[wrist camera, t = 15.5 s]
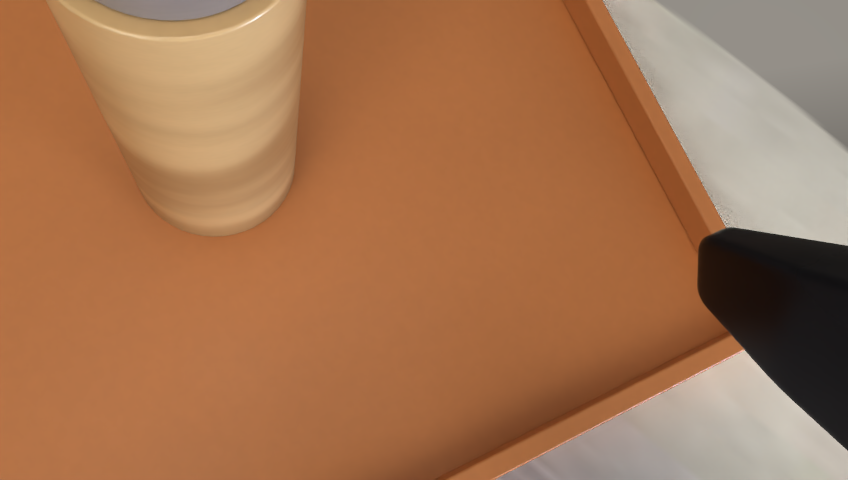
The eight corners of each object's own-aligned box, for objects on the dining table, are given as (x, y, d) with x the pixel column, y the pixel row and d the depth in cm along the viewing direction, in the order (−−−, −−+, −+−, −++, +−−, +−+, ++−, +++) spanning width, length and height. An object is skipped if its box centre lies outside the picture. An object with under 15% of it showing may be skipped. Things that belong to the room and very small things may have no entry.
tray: (752, 338, 25) (783, 330, 23) (-174, 813, 17) (-217, 846, 16) (452, -223, 29) (461, -260, 27) (-404, -36, 21) (-456, -74, 20)
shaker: (293, 238, 23) (318, -26, 10) (129, 235, 22) (-58, -57, 9) (295, 96, 24) (319, -291, 12) (140, 88, 23) (-14, -340, 11)
